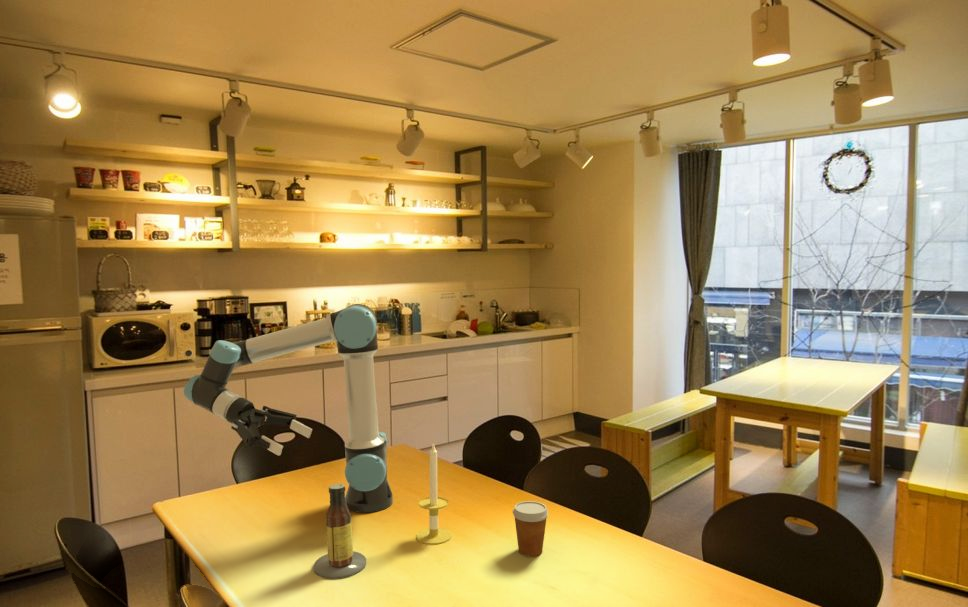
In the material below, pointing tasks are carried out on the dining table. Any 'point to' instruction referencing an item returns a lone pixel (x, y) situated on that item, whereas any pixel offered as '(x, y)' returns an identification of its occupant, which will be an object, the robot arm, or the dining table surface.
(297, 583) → the dining table surface
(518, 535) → the disposable coffee cup
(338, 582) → the dining table surface
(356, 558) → the disc
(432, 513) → the candle
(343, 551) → the sauce bottle
